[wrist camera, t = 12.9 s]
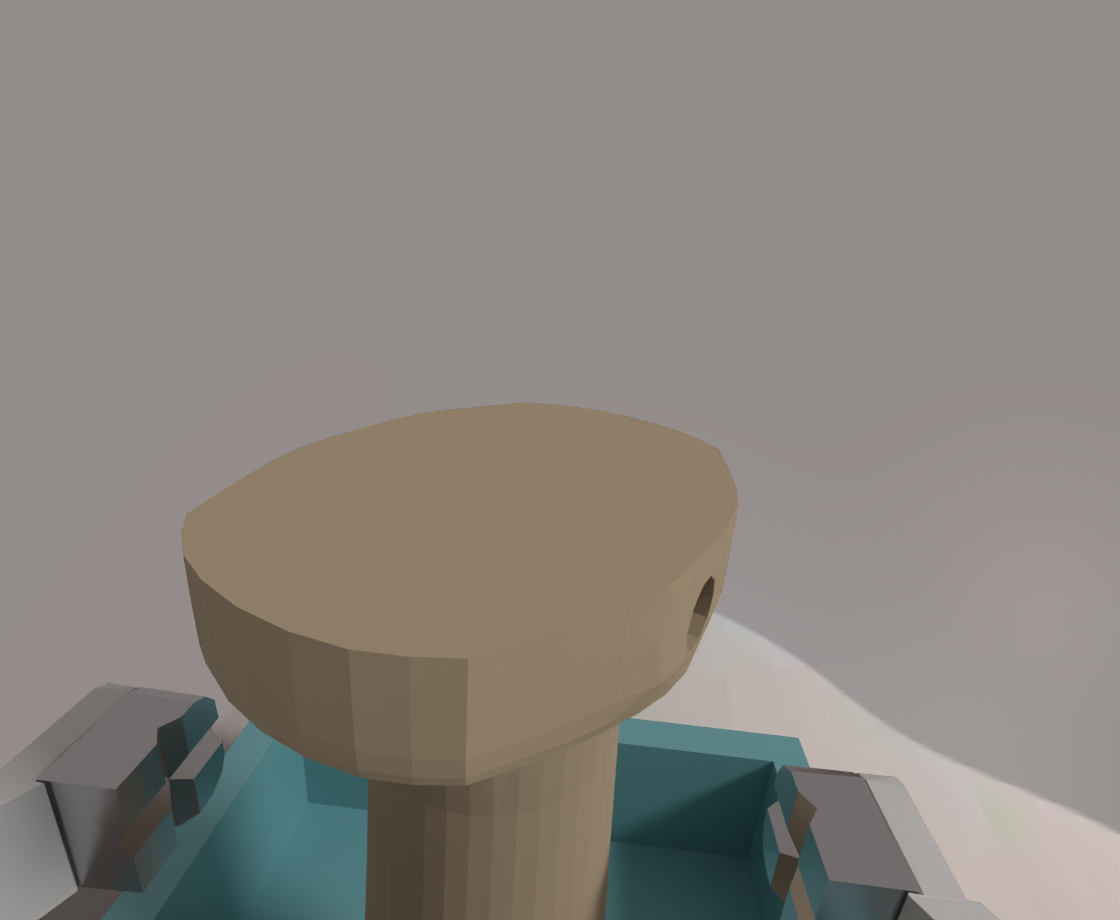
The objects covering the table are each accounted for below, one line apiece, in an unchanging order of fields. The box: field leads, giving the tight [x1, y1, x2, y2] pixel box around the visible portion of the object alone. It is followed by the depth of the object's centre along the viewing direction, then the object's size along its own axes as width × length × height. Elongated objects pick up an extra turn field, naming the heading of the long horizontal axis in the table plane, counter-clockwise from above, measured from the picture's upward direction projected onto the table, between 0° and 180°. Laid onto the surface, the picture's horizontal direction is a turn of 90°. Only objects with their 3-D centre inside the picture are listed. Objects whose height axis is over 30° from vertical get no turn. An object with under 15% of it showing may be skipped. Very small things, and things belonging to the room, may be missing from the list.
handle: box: [181, 403, 738, 920], centre depth 9 cm, size 5×6×15 cm
